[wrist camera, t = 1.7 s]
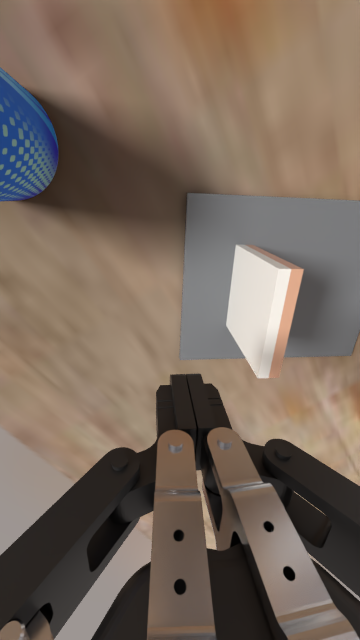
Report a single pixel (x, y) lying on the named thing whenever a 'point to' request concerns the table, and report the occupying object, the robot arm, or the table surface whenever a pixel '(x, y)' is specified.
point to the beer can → (24, 143)
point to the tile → (262, 307)
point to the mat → (286, 243)
